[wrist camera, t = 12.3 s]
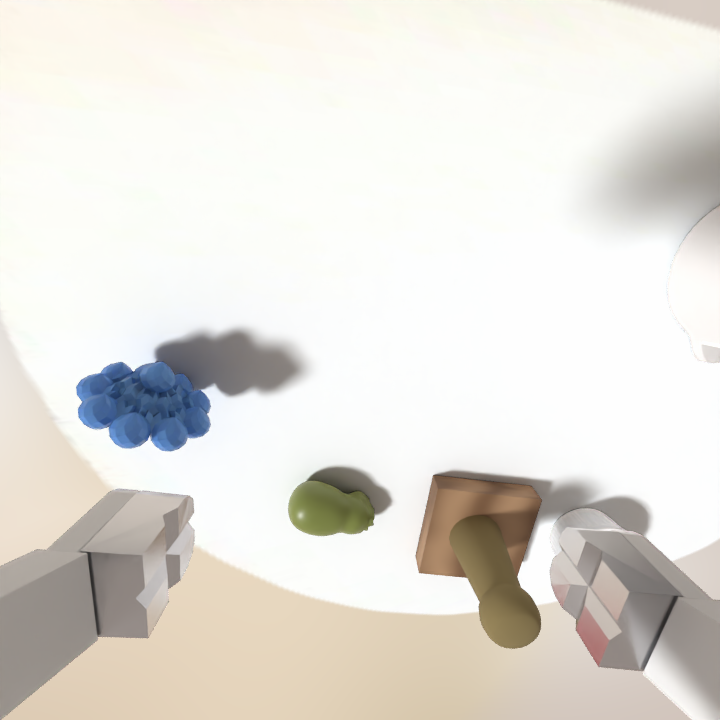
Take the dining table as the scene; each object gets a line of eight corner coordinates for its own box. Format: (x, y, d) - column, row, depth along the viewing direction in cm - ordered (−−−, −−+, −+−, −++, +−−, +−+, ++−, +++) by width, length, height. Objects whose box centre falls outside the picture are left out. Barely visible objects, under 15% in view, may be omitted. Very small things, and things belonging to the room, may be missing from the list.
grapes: (246, 368, 36) (196, 416, 25) (226, 420, 38) (169, 488, 27) (140, 323, 35) (33, 351, 23) (123, 379, 37) (16, 431, 25)
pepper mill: (442, 524, 39) (474, 620, 29) (493, 508, 39) (545, 600, 28) (456, 563, 41) (491, 668, 30) (506, 549, 40) (559, 650, 30)
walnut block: (531, 485, 41) (542, 499, 38) (506, 564, 44) (515, 582, 42) (433, 475, 40) (438, 488, 38) (415, 555, 43) (419, 573, 41)
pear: (297, 498, 34) (385, 515, 37) (297, 466, 39) (375, 483, 42) (280, 540, 36) (367, 554, 38) (283, 504, 41) (359, 518, 43)
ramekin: (588, 489, 41) (615, 515, 37) (628, 532, 43) (657, 561, 39) (529, 532, 43) (548, 561, 39) (570, 571, 45) (592, 603, 40)
